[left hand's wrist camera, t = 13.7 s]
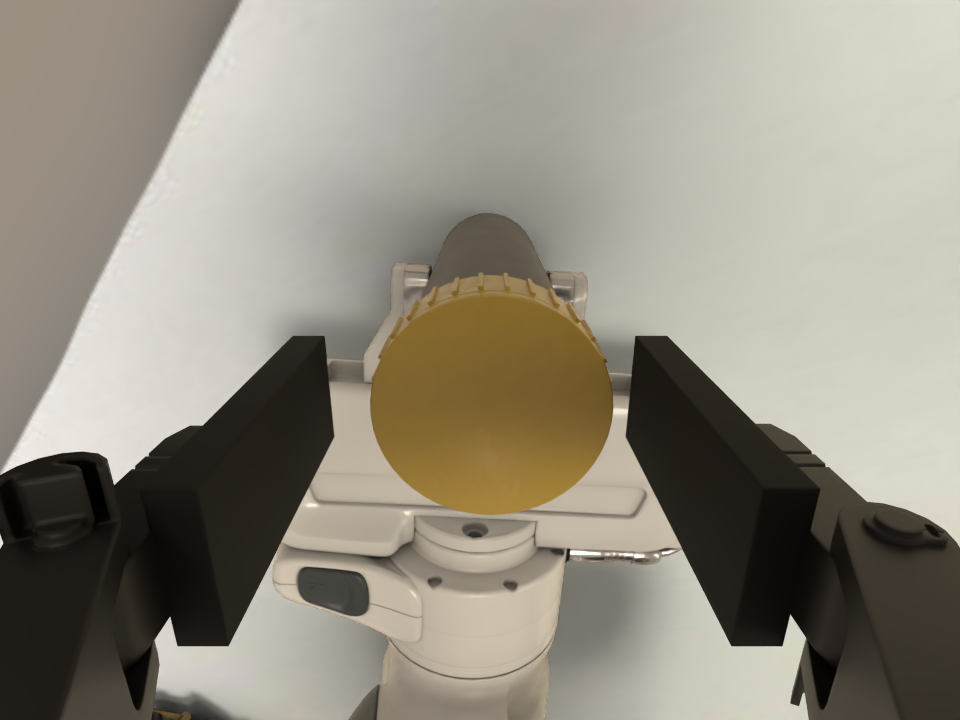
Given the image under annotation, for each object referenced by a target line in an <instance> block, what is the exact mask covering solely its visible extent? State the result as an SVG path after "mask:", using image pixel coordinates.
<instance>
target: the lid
mask: <svg viewBox="0 0 960 720" xmlns="http://www.w3.org/2000/svg"><path fill="white" fill-rule="evenodd" d="M378 359H380V362H379V364H378V366H377V368H376V370H375V372H374V374H373V376H372V380H371V381H373V383H372V387H371V397H370V413H371V421H372V426H373V431H374V434H375V437H376V440H377V443H378V445H379V447H380V449H381V451H382V453H383V455H384V457H385V458H386V460H387V461H388V463H389V464H390V466H391V467H392V469H393V470H394V471H395V472H396V473H397V474H398V475H399V477H400V478H401V479H402V480H403V481H404V482H406V483H407V484H408V485H409V486H410V487H411V488H412V489H414V490H415V491H417V492H418V493H420V494H421V495H423V496H424V497H426V498H428V499H430V500H432V501H434V502H436V503H437V504H440V505H443V506H445V507H448V508H450V509H454V510H458V511H462V512H466V513H473V514H480V515H500V514H511V513H516V512H521V511H525V510H529V509H532V508H535V507H538V506H540V505H543V504H545V503H547V502H549V501H552V500H553V499H555V498H557V497H558V496H560V495H562V494H563V493H565V492H566V491H567V490H569V489H570V488H571V487H573V486H574V485H575V484H576V483H577V482H578V481H579V480H580V479H582V478H583V477H584V476H585V475H586V473H587V472H588V471H589V470H590V468H591V467H592V466H593V465H594V463H595V462H596V460H597V458H598V457H599V455H600V453H601V452H602V450H603V447H604V445H605V443H606V440H607V438H608V435H609V431H610V427H611V424H612V416H613V391H612V386H611V385H612V380H611V379H610V377H609V374H608V371H607V368H606V365H605V363H606V362H607V360H606V358H605V356H604V354H603V352H602V351H601V349H600V347H599V345H598V344H597V342H596V338H595V337H594V335H593V333H592V331H591V330H590V328H589V326H588V324H587V323H586V321H585V320H584V319H583V320H582V321H581V320H580V318H579V317H578V315H577V313H576V311H575V309H574V308H573V306H572V304H571V303H570V302H568V303H567V304H566V303H565V302H564V301H562V300H561V299H560V298H559V297H558V296H556V294H555V292H554V290H553V289H551V288H549V289H548V290H547V289H545V288H543V287H541V286H538V285H536V284H534V283H533V282H532V279H529V278H527V280H526V281H525V280H522V279H519V278H514V277H508V273H503V276H499V275H483V273H479V276H474V277H469V278H464V279H459V277H456V278H455V279H454V282H451V283H449V284H446V285H444V286H442V287H440V288H437V286H435V287H433V288H432V291H431V293H429V294H428V295H426V296H425V297H424V298H422V299H421V300H420V301H418V300H417V299H416V300H415V301H414V302H413V304H412V306H411V308H410V310H409V311H408V313H407V314H406V315H405V316H404V318H403V317H401V316H400V317H399V318H398V320H397V322H396V324H395V326H394V328H393V330H392V332H391V334H390V336H388V338H387V340H386V342H385V344H384V346H383V348H382V350H381V352H380V354H379V356H378Z"/></svg>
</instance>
